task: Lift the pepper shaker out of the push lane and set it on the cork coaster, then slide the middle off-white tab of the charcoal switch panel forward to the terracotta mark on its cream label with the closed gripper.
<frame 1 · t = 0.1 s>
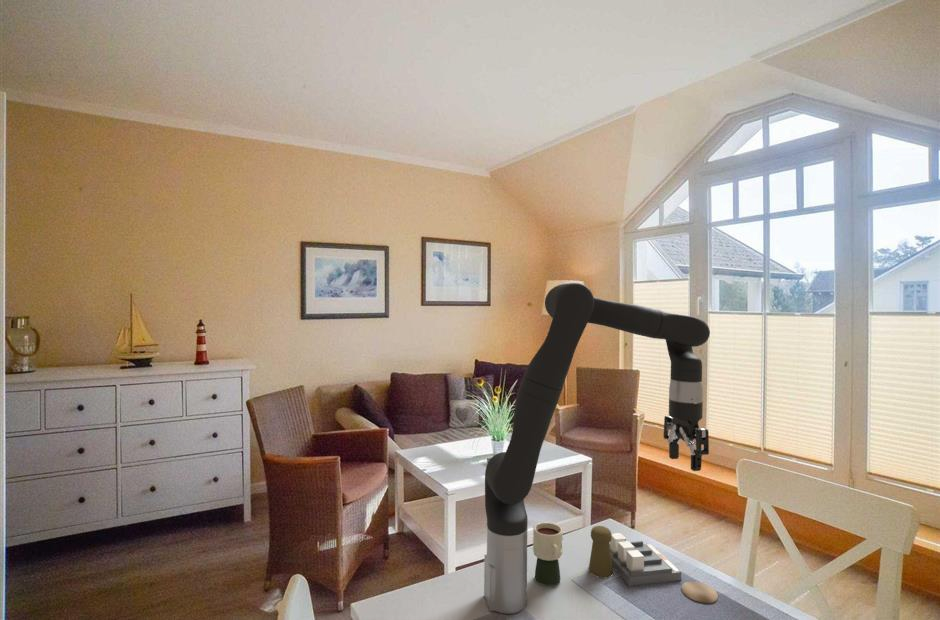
hand: (684, 464, 115), 29 cm above the table, tool pointing down, fingers open, 8 cm apart
tab middle: (626, 552, 121), point 4 cm above the table, slide at 0.0 cm
pepper shaker: (600, 571, 120), on the table
character mug: (547, 581, 116), on the table
cork coaster: (699, 593, 111), on the table
tab front: (635, 561, 117), point 4 cm above the table, slide at 0.0 cm
tab back: (617, 543, 126), point 4 cm above the table, slide at 0.0 cm
switch panel: (640, 566, 122), on the table
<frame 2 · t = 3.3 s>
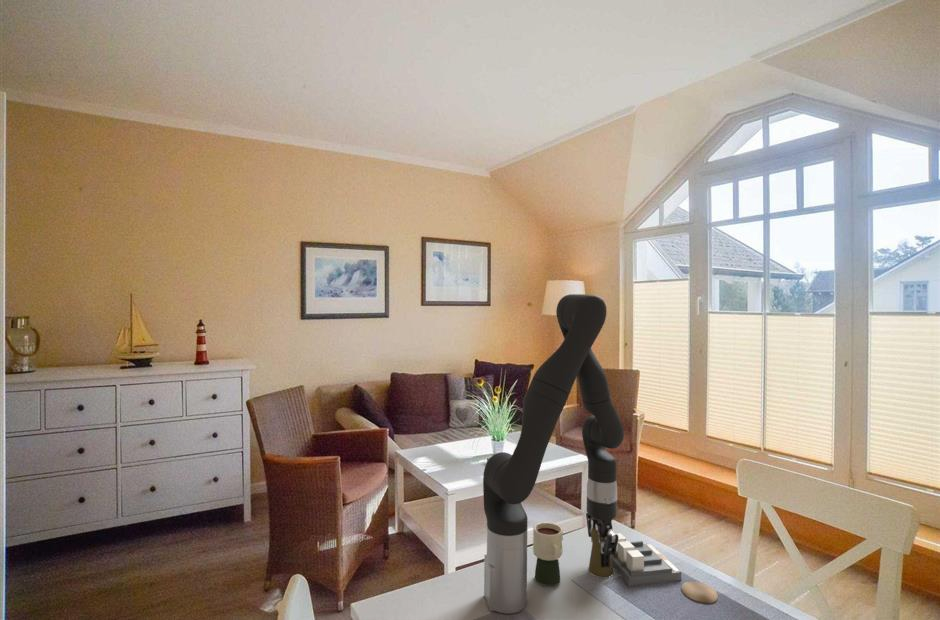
hand: (600, 562, 120), 2 cm above the table, tool pointing down, fingers closed on pepper shaker, 4 cm apart
pepper shaker: (600, 571, 120), on the table, touching gripper
everything else where it was.
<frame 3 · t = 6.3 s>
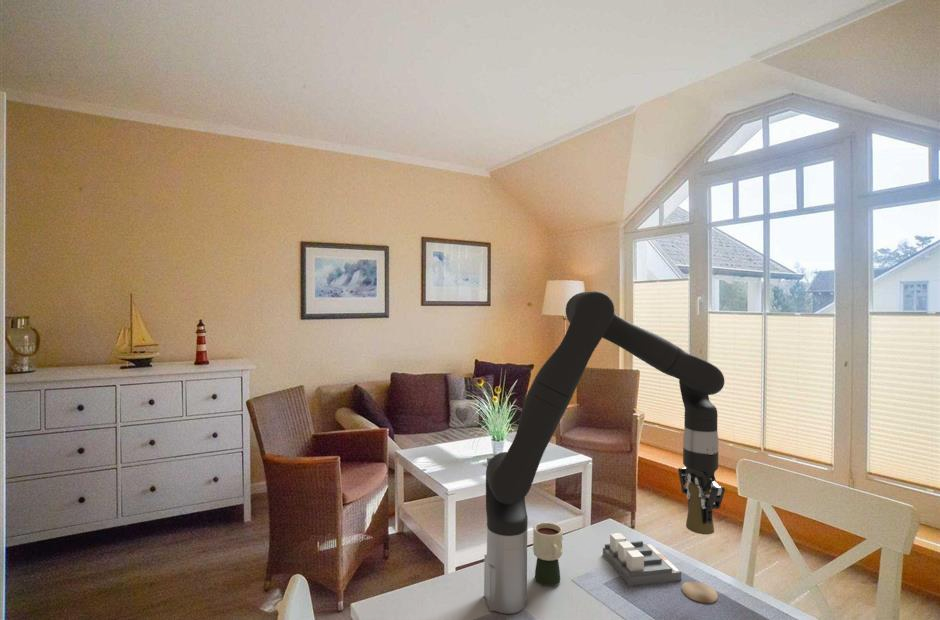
hand: (699, 518, 111), 18 cm above the table, tool pointing down, fingers closed on pepper shaker, 4 cm apart
pepper shaker: (699, 529, 111), point 15 cm above the table, touching gripper
everything else where it was.
when the fingers open (4 cm above the table, at t = 9.2 s): pepper shaker drops 1 cm, resting on cork coaster.
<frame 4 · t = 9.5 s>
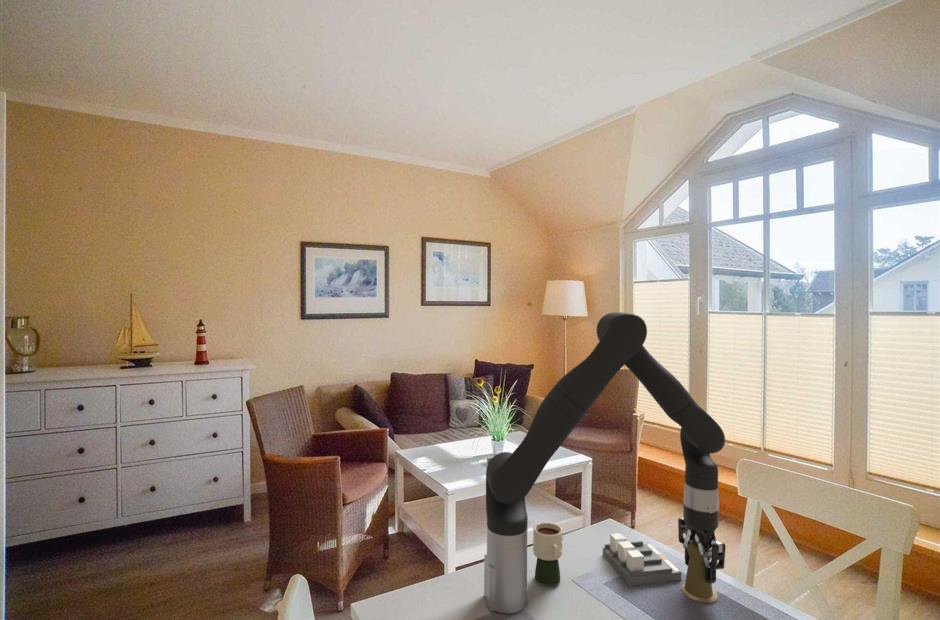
hand: (699, 573, 111), 5 cm above the table, tool pointing down, fingers open, 6 cm apart
pepper shaker: (698, 591, 112), resting on cork coaster
everything else where it was.
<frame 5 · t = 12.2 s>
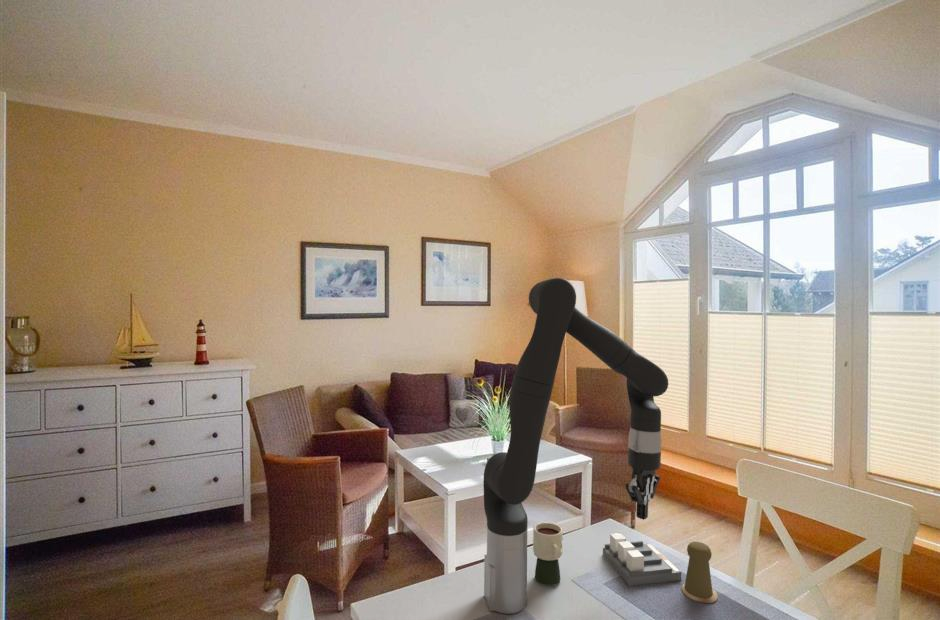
hand: (641, 517, 115), 16 cm above the table, tool pointing down, fingers closed
nothing on the table moved.
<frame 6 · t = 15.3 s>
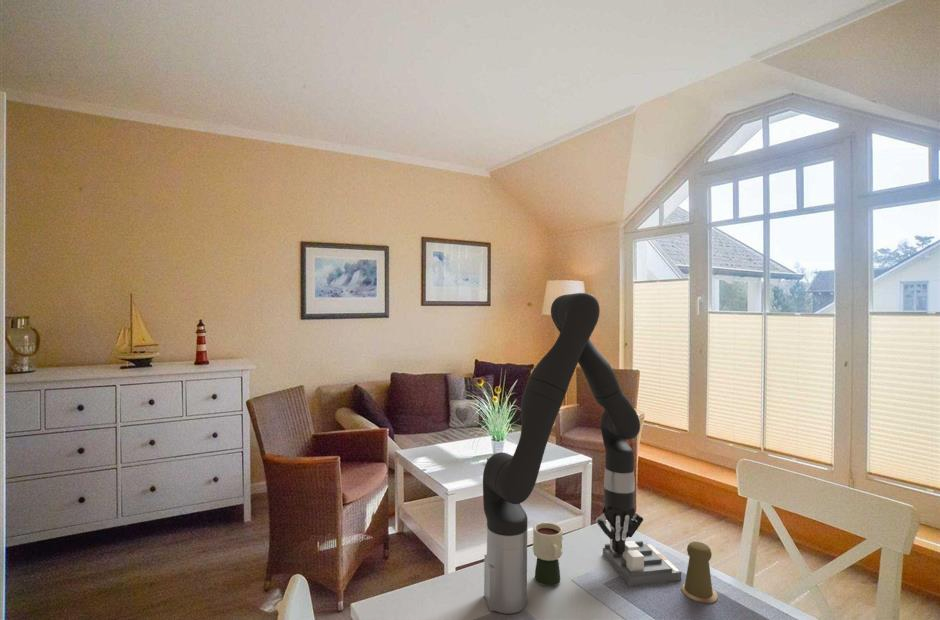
hand: (618, 552, 121), 4 cm above the table, tool pointing down, fingers closed
tab middle: (630, 551, 122), point 4 cm above the table, slide at 1.3 cm, touching gripper
everything else where it was.
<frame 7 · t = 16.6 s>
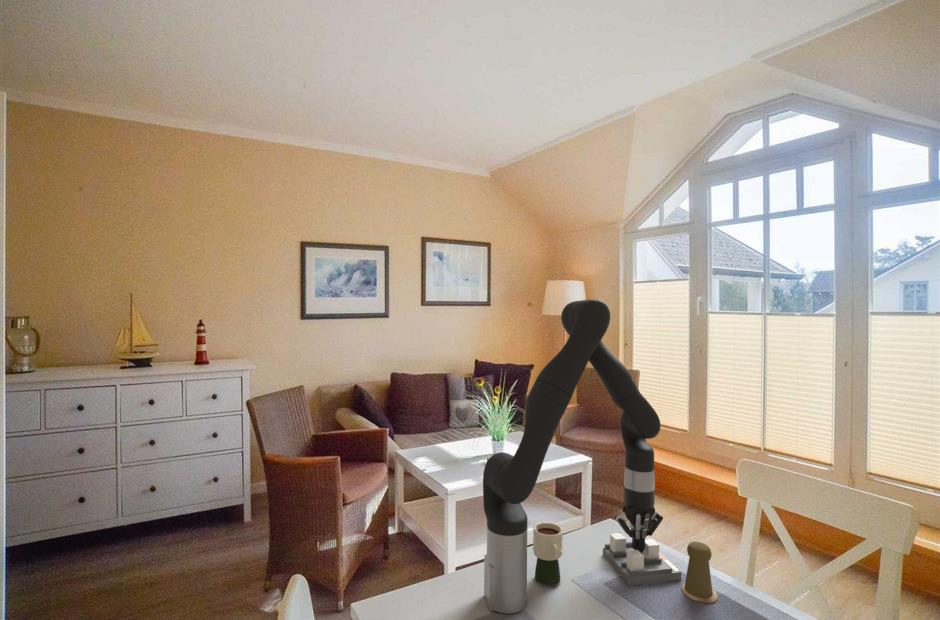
hand: (638, 551, 122), 4 cm above the table, tool pointing down, fingers closed
tab middle: (650, 550, 123), point 4 cm above the table, slide at 6.9 cm, touching gripper
everything else where it was.
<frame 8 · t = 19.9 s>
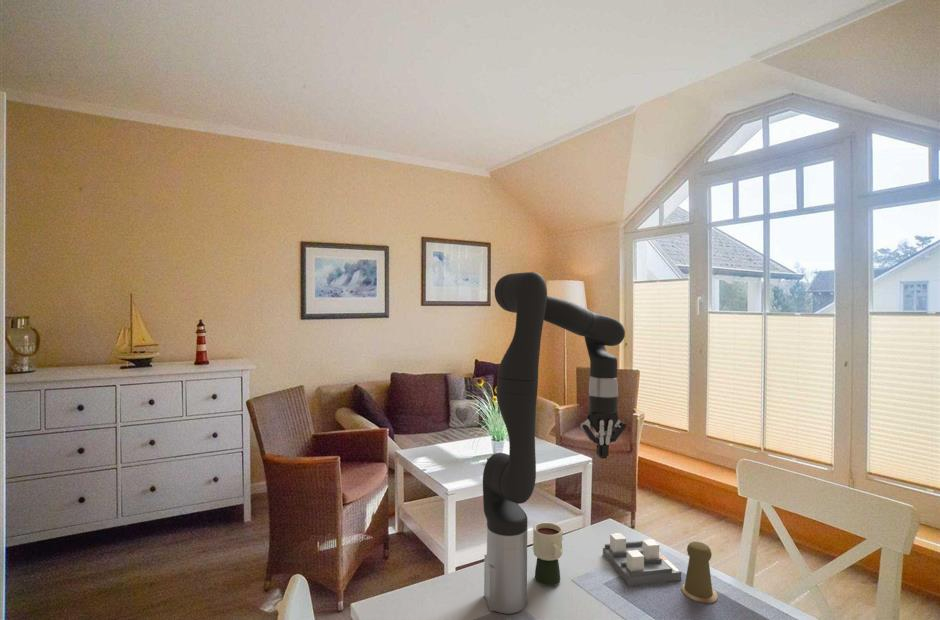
hand: (602, 457, 126), 27 cm above the table, tool pointing down, fingers closed
tab middle: (650, 550, 123), point 4 cm above the table, slide at 6.9 cm
everything else where it was.
at the end: tab middle slide at 6.9 cm; tab front slide at 0.0 cm; pepper shaker 0.2 cm off-centre on the cork coaster, point 0.3 cm above the cork coaster's base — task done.
